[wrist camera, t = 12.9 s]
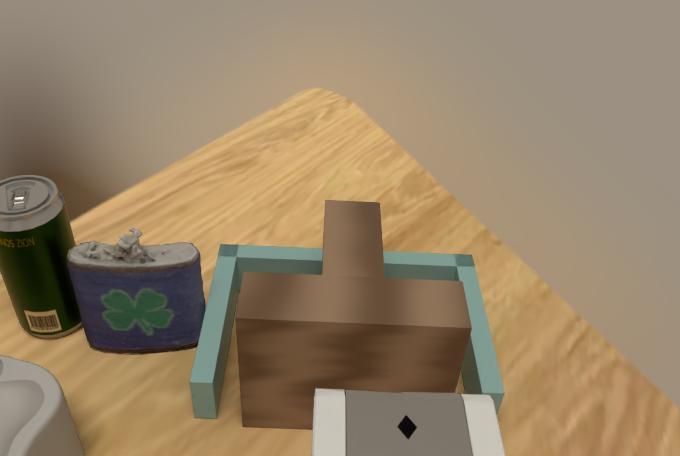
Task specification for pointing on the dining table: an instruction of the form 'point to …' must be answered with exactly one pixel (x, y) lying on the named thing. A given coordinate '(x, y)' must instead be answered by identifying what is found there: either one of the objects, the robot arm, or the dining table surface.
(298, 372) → the t block
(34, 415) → the grey bumpy block
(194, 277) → the flask
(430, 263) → the fence
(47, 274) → the beer can
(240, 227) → the dining table surface
